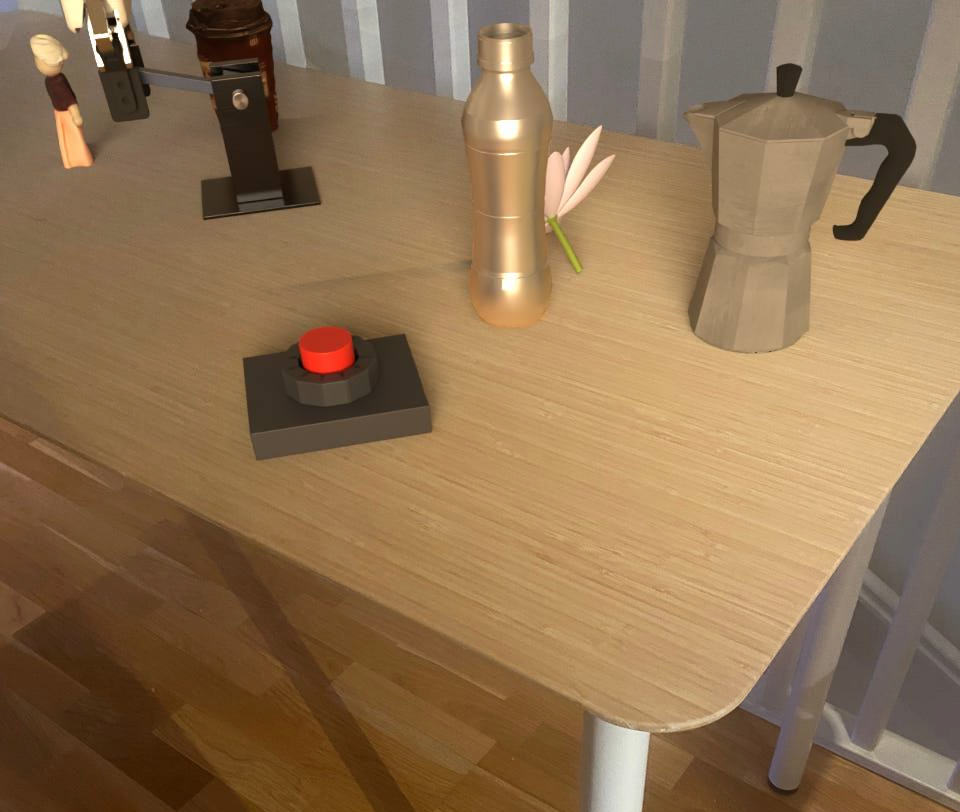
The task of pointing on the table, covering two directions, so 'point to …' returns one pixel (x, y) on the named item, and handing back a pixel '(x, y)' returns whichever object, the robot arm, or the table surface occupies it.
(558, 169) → the water lily
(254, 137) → the lever bracket
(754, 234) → the coffeepot
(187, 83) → the switch lever
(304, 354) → the button
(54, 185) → the table surface
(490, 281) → the gold metal bottle
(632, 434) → the table surface
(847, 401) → the table surface
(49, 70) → the grandmother figurine
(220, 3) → the coffee cup
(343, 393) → the switch base
